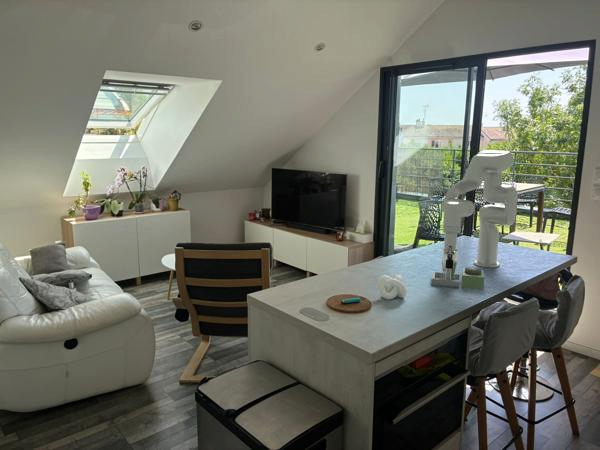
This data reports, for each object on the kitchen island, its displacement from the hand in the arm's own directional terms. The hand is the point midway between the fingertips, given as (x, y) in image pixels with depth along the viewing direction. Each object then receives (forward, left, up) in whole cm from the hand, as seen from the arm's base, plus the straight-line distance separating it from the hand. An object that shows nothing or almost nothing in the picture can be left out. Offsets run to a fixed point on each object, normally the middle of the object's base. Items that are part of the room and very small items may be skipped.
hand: (449, 265), depth 215 cm
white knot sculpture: (+28, -21, -9) cm, 36 cm away
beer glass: (0, 0, -8) cm, 8 cm away
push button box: (0, +4, -8) cm, 9 cm away
